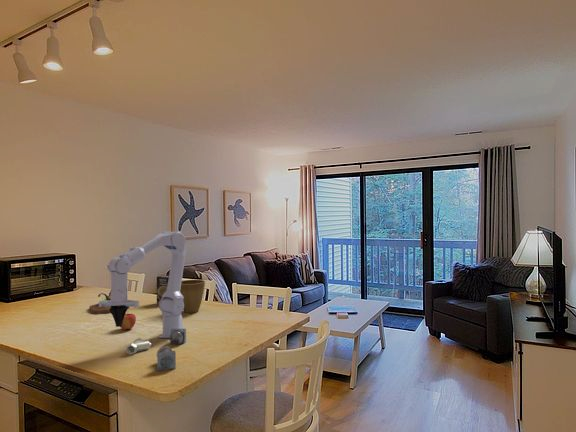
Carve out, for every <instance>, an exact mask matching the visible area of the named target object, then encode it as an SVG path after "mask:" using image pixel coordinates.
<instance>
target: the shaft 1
mask: <svg viewBox="0 0 576 432" xmlns="http://www.w3.org/2000/svg"><path fill="white" fill-rule="evenodd" d="M176 353H177V352H176V350H173V349H172V348H171V347H169V346H162V347H159V349H158V350H157V352H156V359H157V361H156V362H157V363H156V370H157V372H161V371H168V370H176V368H177V367H176V362H177V361H176V356H177V355H176Z"/></svg>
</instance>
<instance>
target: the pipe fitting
mask: <svg viewBox="0 0 576 432" xmlns="http://www.w3.org/2000/svg"><path fill="white" fill-rule="evenodd" d="M151 346H152V343H151V342H150V341H149V340H144V339H142V338H141V337H138V338H136V339H135V340H133V342H132V343H131V344H128V345H127V346H126V348H125V352H126V353H127V354H128V355H129V356H131V355H134V354H135V353H137V352H142V351H147V350H150V348H151Z"/></svg>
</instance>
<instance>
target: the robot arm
mask: <svg viewBox="0 0 576 432" xmlns="http://www.w3.org/2000/svg"><path fill="white" fill-rule="evenodd" d="M186 238H187V237H186V236H185V235H184V233H182V232H181V231H166V230H165V231H162V232H161V233H159V234H157V235H156V236H155V237H154V238H152V239H149V241H147V242H146V243H145V244H143V245H142V246H140V247H139V246H131V247H130V248H129V250H127V251H126V252H124V253H120V254H119V256H117V257H116V256H115V257H112V258H111V259H110V261H109V262H108V265H106V266H107V270H108V271H109V273H110V274H109V275H110V291H111V300H108V301H103V300H100V301H98V303H99V307H111V308H110V309H109V311H110V312H111V313H110V314H111V316H112V317H113V320H114V324H115V327H118V328H121V327H120V326H122V323H123V319H124V316H125V314H127V312H128V310H129V309H128V307H129V308H130V307H131V308H132V307H133V308H138V307H140V300H132V299H131V300H130V299H128V272H130V271H131V268H132V267H133V266H135V265H136V264H138V263H139V262H141V261H142V260H144V259H145V256H146V254H148V253H150V252H152V251H153V250H156V249H157V248H159V247H162V246H163V247H164V248H166V249H168V250H169V252H170V253H171V254H172V256H171V263H170V269H169V275H168V276H169V280H168V286H167V291H166V292H165V293H164V294H163V295H162V299H161V301H160V303H159V304H158V309H159V310H160V312H161V315H162V333H161V334H160V335H159V336H158V338H160V339H163V338H165V339H169V337H170V335H171V329H183V315H182V312H184V310H183V309H184V303H183V298H184V297H183V296H182V294H181V293H180V289H181V282H182V281H183V275H184V268H185V262H186V256H187V248H186ZM172 298H173V299H172Z"/></svg>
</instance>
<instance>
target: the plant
mask: <svg viewBox="0 0 576 432" xmlns="http://www.w3.org/2000/svg"><path fill="white" fill-rule="evenodd" d="M101 295H103V296H104V298H102V299H101V301H108V300H111V290H110V291H109V293H108V295H107V294H106V293H104V292H101V293H99V294H98V295H97V297H98V298H100V297H101ZM110 308H111V307H99V302H98V303H95V304H92V305H89V308H88V310H89V311H90V312H91V314H95V315H103V314H106V315H107V314H111V312H110V311H109V309H110ZM129 309H130V307H128V309H127V310H129Z"/></svg>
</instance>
